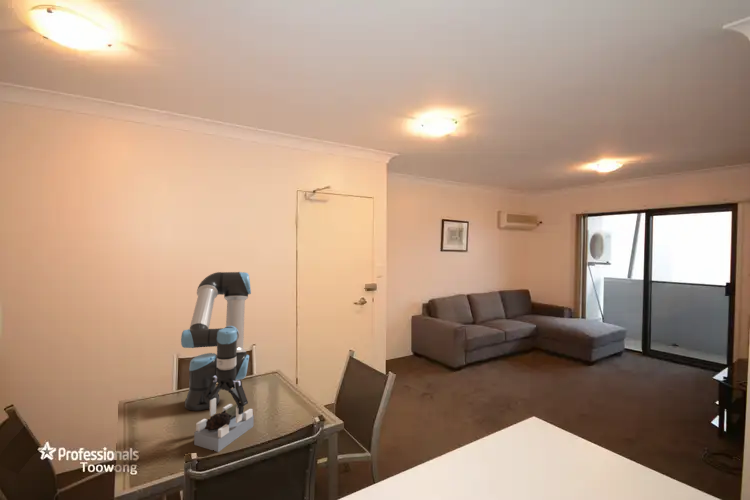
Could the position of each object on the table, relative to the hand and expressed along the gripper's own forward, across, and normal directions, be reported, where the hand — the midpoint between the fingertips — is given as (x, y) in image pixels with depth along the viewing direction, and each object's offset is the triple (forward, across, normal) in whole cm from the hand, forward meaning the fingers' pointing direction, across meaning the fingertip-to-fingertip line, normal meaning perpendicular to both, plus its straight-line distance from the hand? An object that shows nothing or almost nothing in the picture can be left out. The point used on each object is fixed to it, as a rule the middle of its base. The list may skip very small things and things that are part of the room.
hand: (225, 418), depth 145 cm
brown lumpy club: (+2, 0, 0) cm, 2 cm away
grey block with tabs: (+7, 0, 0) cm, 7 cm away
